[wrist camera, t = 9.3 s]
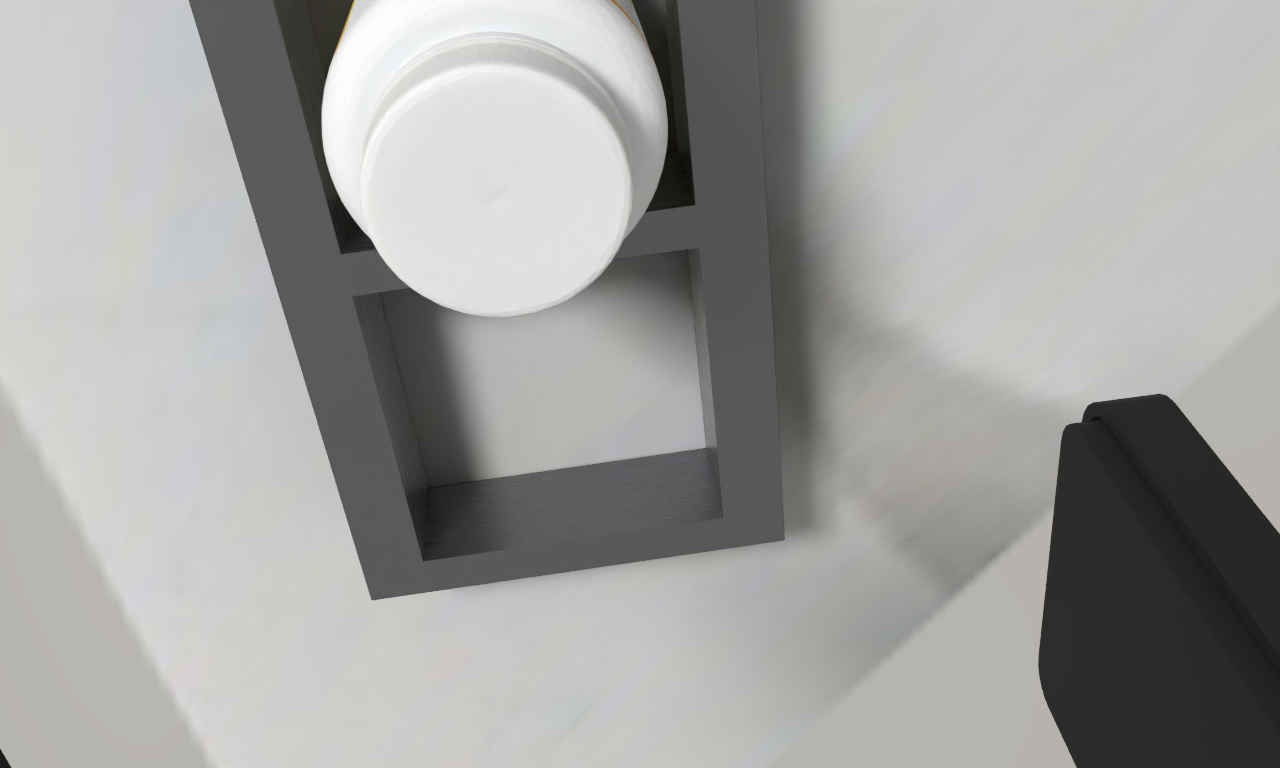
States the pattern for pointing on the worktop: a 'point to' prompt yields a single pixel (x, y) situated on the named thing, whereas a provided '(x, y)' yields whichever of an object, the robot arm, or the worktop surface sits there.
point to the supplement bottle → (495, 143)
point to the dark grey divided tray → (674, 220)
